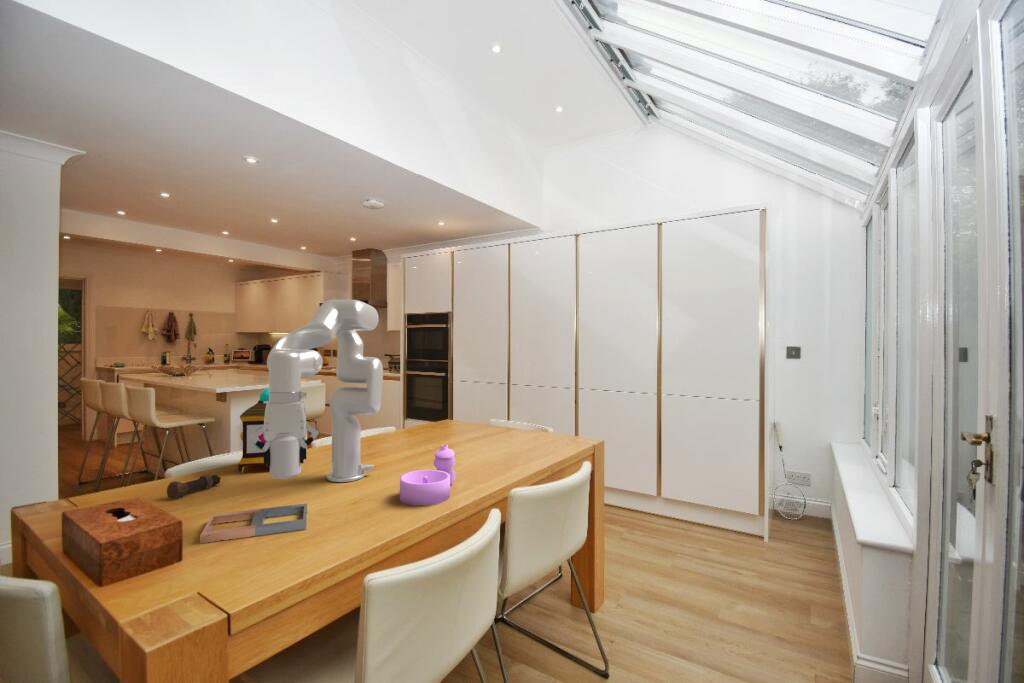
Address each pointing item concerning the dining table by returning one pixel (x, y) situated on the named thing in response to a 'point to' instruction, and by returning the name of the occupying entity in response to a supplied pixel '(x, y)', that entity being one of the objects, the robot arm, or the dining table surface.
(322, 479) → the dining table surface
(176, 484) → the bolt
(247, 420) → the decorative lantern
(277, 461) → the can
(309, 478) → the dining table surface
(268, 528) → the tray
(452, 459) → the container set
